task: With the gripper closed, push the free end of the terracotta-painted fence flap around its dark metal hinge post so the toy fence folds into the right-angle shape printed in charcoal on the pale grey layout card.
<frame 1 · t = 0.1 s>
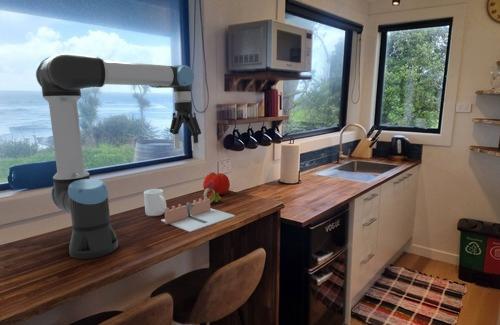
hand: (185, 149, 158), 28 cm above the counter, fingers open, 13 cm apart
fence flap: (200, 205, 153), point 4 cm above the counter, hinge at 0.0°
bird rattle: (211, 203, 171), on the counter
fence fixed: (189, 217, 149), resting on layout card
tomato: (216, 194, 186), on the counter
layout card: (198, 218, 148), on the counter
mug: (157, 214, 155), on the counter
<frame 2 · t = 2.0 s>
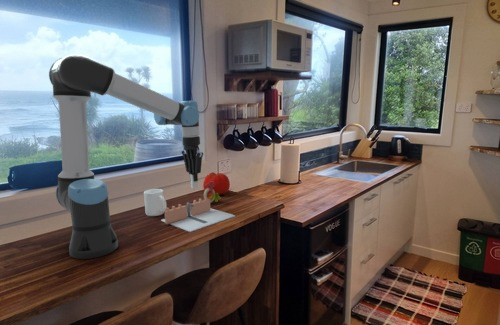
hand: (194, 187, 158), 10 cm above the counter, fingers closed
nothing on the counter moved.
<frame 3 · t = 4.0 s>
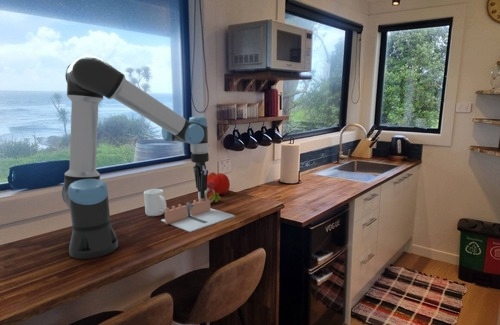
hand: (202, 204, 156), 3 cm above the counter, fingers closed
fence flap: (200, 205, 153), point 4 cm above the counter, hinge at -0.1°, touching gripper
everything else where it was.
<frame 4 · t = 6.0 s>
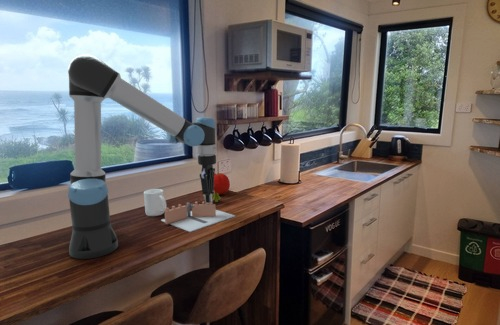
hand: (208, 208, 150), 3 cm above the counter, fingers closed
fence flap: (203, 208, 148), point 4 cm above the counter, hinge at -46.9°, touching gripper
everything else where it was.
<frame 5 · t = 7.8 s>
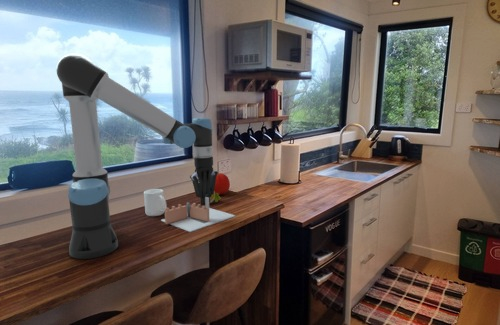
hand: (205, 212, 145), 3 cm above the counter, fingers closed
fence flap: (199, 211, 145), point 4 cm above the counter, hinge at -83.1°, touching gripper
everything else where it was.
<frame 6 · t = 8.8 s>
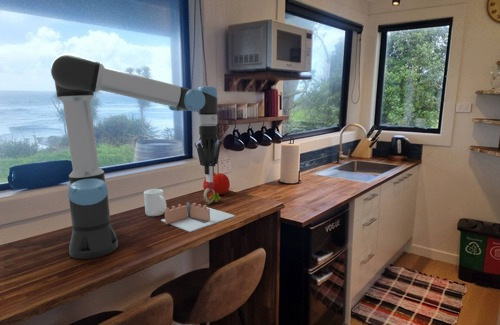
hand: (209, 181, 146), 16 cm above the counter, fingers closed
fence flap: (199, 211, 145), point 4 cm above the counter, hinge at -81.4°
everything else where it was.
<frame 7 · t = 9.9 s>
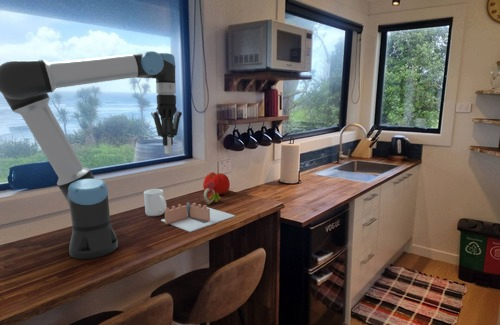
hand: (168, 153, 142), 28 cm above the counter, fingers closed
nothing on the counter moved.
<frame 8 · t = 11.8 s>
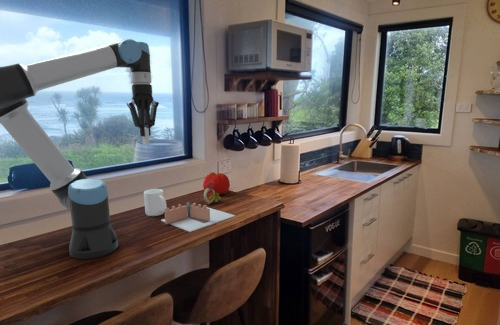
hand: (146, 144, 140), 32 cm above the counter, fingers closed
nothing on the counter moved.
at the end: fence flap at -81° (first picture: +0°); fence flap touching nothing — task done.
